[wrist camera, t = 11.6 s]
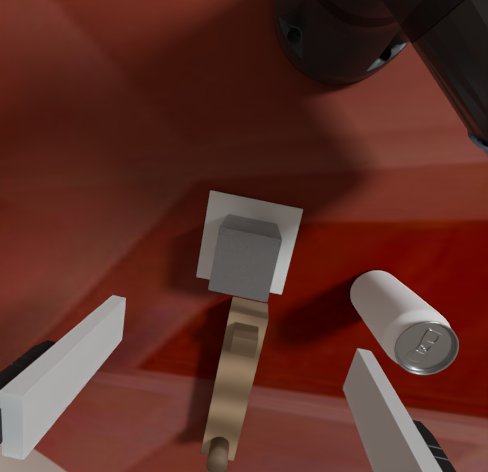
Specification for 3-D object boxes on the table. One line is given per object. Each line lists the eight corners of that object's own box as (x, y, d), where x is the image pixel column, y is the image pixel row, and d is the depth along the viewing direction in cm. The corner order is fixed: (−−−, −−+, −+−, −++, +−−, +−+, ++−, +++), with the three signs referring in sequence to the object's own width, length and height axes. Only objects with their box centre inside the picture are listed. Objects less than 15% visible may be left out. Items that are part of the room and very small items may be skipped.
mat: (210, 190, 34) (210, 190, 34) (302, 209, 34) (303, 209, 34) (196, 275, 37) (196, 276, 37) (281, 293, 37) (281, 294, 37)
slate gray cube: (228, 213, 34) (219, 226, 27) (277, 223, 34) (282, 239, 26) (219, 264, 36) (208, 289, 28) (265, 273, 36) (267, 302, 28)
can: (340, 301, 37) (376, 362, 25) (364, 261, 35) (415, 306, 24) (381, 320, 37) (436, 388, 25) (407, 281, 35) (479, 335, 24)
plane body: (232, 296, 38) (226, 324, 31) (267, 303, 37) (269, 333, 31) (205, 428, 43) (195, 475, 37) (236, 434, 43) (231, 483, 37)
